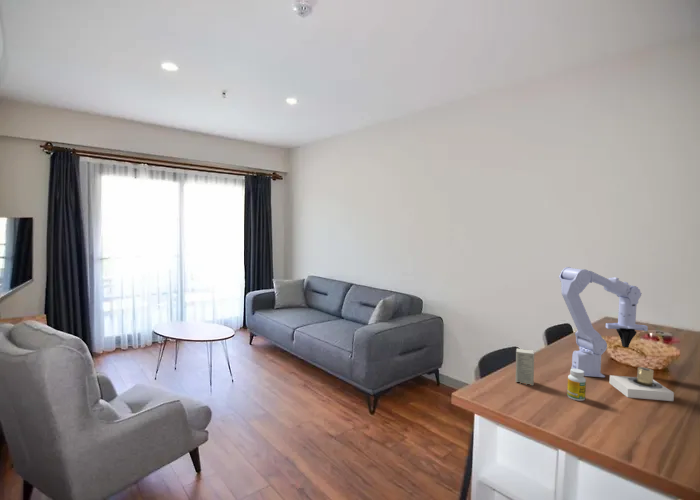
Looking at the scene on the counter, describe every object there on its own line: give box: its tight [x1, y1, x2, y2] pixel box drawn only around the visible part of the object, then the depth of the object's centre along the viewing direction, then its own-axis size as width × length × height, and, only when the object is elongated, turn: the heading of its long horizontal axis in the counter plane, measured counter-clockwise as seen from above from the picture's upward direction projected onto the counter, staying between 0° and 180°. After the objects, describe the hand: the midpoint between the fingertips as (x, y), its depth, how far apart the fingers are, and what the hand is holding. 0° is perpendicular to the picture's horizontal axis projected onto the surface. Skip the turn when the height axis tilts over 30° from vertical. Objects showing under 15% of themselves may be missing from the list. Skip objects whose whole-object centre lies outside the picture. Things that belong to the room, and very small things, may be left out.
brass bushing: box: [636, 366, 654, 387], centre depth 131 cm, size 4×4×8 cm
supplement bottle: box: [566, 368, 587, 402], centre depth 125 cm, size 5×5×10 cm
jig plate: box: [609, 374, 675, 402], centre depth 131 cm, size 14×12×3 cm
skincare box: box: [515, 348, 535, 386], centre depth 138 cm, size 6×4×12 cm
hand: (625, 346), depth 149 cm, fingers closed
